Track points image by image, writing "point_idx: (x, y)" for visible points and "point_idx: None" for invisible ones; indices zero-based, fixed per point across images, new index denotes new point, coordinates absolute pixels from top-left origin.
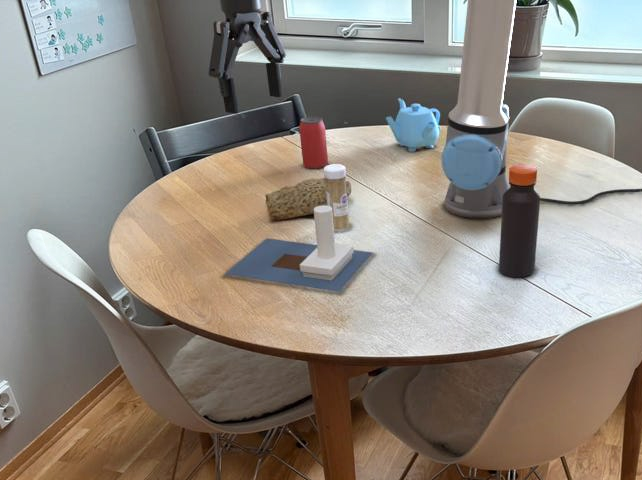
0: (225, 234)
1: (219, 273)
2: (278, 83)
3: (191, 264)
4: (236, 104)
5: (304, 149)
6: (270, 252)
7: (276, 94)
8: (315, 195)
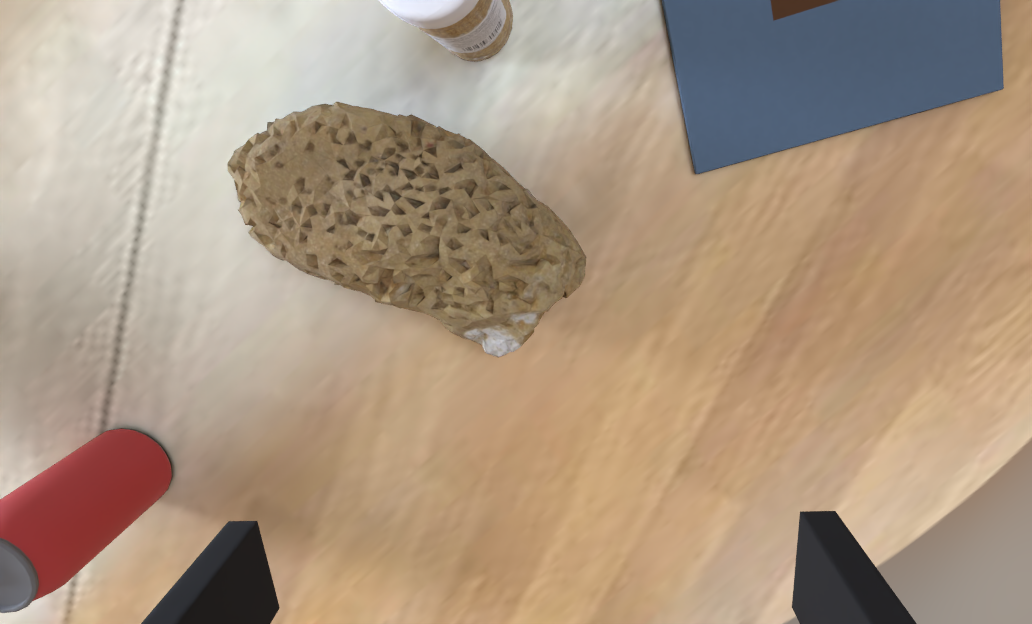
0: (719, 326)
1: (980, 125)
2: (181, 612)
3: (955, 255)
4: (847, 564)
5: (129, 508)
6: (786, 76)
7: (254, 563)
8: (438, 155)
